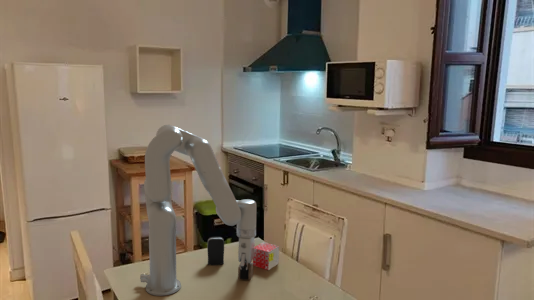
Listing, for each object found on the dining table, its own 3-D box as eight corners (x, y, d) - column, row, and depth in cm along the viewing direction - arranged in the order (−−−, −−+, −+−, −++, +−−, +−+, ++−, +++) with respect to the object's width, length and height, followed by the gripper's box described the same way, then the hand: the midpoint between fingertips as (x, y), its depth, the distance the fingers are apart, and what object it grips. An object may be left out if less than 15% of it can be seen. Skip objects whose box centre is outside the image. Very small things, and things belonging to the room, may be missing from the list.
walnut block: (238, 279, 166) (238, 267, 165) (240, 273, 171) (241, 261, 170) (250, 280, 165) (250, 268, 164) (253, 274, 170) (253, 262, 169)
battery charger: (223, 260, 182) (223, 235, 180) (224, 264, 178) (224, 238, 177) (207, 261, 181) (207, 236, 179) (207, 265, 177) (207, 239, 175)
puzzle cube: (268, 270, 174) (268, 252, 173) (252, 265, 178) (252, 247, 177) (278, 263, 181) (279, 246, 180) (263, 259, 185) (263, 241, 184)
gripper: (251, 240, 156) (251, 286, 159) (259, 225, 173) (258, 267, 175) (231, 238, 157) (231, 284, 160) (241, 223, 174) (240, 265, 177)
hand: (245, 275), depth 168 cm, fingers closed on walnut block, 5 cm apart
